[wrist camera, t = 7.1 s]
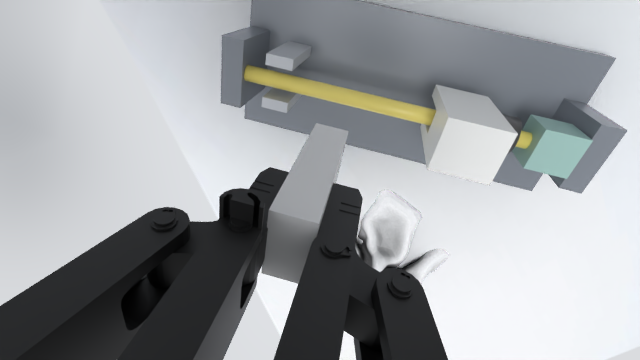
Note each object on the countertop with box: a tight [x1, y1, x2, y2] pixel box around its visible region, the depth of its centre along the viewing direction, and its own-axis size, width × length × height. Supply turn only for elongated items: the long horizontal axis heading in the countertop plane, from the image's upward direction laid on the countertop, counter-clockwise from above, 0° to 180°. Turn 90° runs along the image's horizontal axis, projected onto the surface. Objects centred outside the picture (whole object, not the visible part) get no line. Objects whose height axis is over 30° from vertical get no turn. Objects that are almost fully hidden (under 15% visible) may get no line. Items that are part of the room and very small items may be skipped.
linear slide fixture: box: [221, 0, 627, 193], centre depth 26 cm, size 28×12×8 cm, turn 79°
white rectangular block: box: [420, 85, 518, 186], centre depth 23 cm, size 4×4×7 cm
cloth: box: [355, 190, 450, 284], centre depth 38 cm, size 22×19×6 cm
